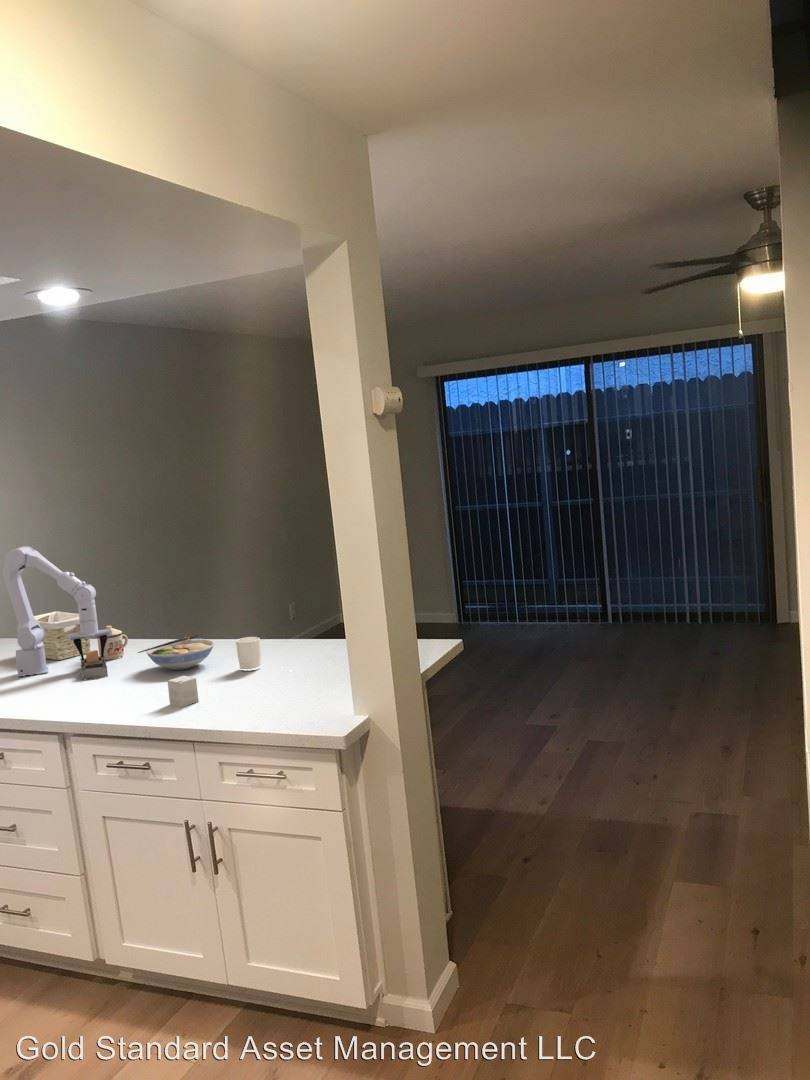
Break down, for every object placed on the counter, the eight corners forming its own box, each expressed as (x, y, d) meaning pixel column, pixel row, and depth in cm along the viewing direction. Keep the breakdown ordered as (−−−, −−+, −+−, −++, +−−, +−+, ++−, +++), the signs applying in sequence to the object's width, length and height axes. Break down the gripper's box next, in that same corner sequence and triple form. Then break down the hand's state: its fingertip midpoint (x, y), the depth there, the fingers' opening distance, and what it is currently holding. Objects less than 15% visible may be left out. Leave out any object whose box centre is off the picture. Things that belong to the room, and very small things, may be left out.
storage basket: (22, 656, 344) (17, 618, 343) (60, 647, 357) (56, 610, 355) (57, 662, 330) (52, 623, 328) (96, 652, 342) (91, 614, 341)
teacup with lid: (109, 661, 325) (105, 629, 324) (93, 659, 331) (90, 627, 329) (136, 653, 335) (133, 622, 334) (121, 651, 340) (117, 621, 339)
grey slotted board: (107, 676, 303) (106, 667, 303) (82, 680, 301) (81, 671, 300) (105, 663, 322) (104, 655, 322) (81, 667, 319) (80, 658, 319)
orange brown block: (87, 670, 313) (85, 653, 313) (87, 668, 317) (85, 651, 316) (99, 669, 315) (97, 652, 314) (99, 666, 318) (97, 649, 318)
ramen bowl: (174, 680, 291) (171, 655, 290) (130, 673, 305) (128, 649, 304) (232, 661, 311) (230, 638, 310) (189, 655, 325) (187, 633, 324)
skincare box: (186, 699, 269) (183, 675, 268) (199, 701, 265) (196, 677, 264) (169, 704, 264) (166, 680, 263) (182, 707, 260) (179, 682, 259)
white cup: (265, 665, 303) (262, 636, 301) (259, 671, 295) (256, 641, 294) (242, 666, 303) (239, 637, 302) (235, 672, 296) (232, 642, 294)
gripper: (66, 624, 308) (70, 663, 309) (110, 619, 313) (115, 657, 314) (66, 621, 314) (70, 659, 316) (109, 615, 319) (113, 653, 321)
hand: (92, 658), depth 316 cm, fingers open, 6 cm apart
